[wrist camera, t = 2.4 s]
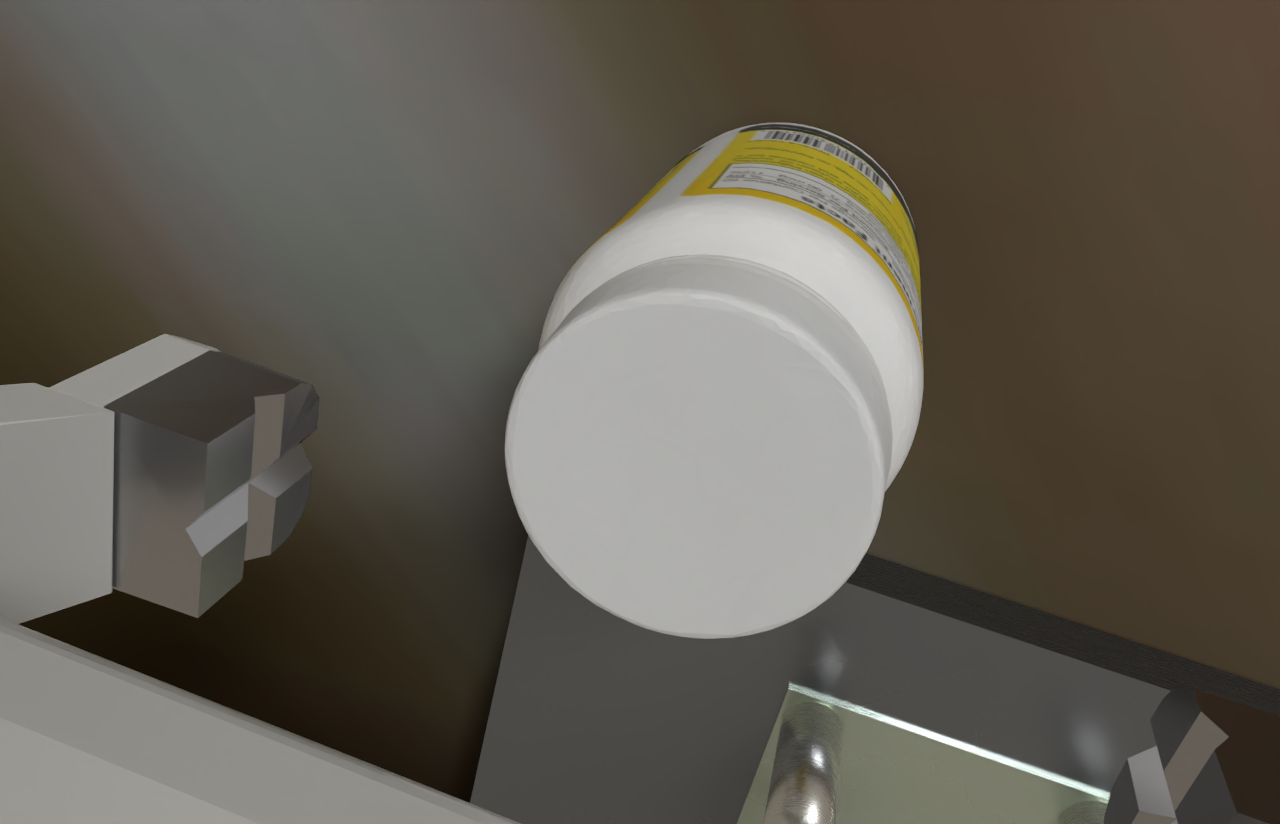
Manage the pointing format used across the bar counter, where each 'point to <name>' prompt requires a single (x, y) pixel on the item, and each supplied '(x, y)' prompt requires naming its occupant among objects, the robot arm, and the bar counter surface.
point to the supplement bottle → (726, 388)
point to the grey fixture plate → (823, 711)
